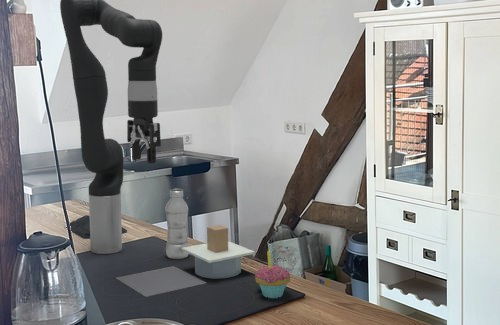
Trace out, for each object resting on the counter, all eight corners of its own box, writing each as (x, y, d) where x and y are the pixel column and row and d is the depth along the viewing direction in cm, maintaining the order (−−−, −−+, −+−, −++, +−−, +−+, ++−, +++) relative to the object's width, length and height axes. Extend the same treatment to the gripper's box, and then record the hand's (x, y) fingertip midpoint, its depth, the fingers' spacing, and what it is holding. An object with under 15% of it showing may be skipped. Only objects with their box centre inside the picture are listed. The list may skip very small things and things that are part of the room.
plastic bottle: (185, 262, 183) (184, 192, 180) (162, 261, 184) (161, 191, 181) (192, 256, 189) (191, 188, 186) (169, 255, 190) (168, 187, 187)
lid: (181, 250, 174) (181, 226, 173) (225, 242, 182) (225, 218, 181) (209, 263, 163) (209, 237, 162) (254, 253, 171) (254, 229, 170)
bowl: (186, 272, 174) (186, 250, 174) (224, 264, 181) (224, 243, 181) (210, 284, 165) (210, 261, 164) (249, 275, 172) (249, 253, 171)
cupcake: (278, 303, 152) (279, 253, 150) (247, 296, 156) (248, 248, 154) (296, 292, 159) (296, 245, 157) (266, 286, 163) (266, 240, 162)
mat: (115, 280, 167) (115, 277, 167) (173, 268, 177) (173, 266, 177) (145, 299, 154) (145, 296, 154) (206, 285, 164) (206, 282, 163)
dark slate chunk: (103, 221, 232) (102, 208, 232) (130, 234, 215) (129, 220, 214) (61, 227, 223) (60, 214, 223) (85, 242, 206) (85, 227, 205)
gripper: (169, 99, 164) (169, 163, 166) (143, 97, 175) (144, 156, 177) (142, 100, 159) (143, 166, 162) (117, 97, 171) (118, 159, 173)
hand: (143, 161), depth 170 cm, fingers open, 8 cm apart
